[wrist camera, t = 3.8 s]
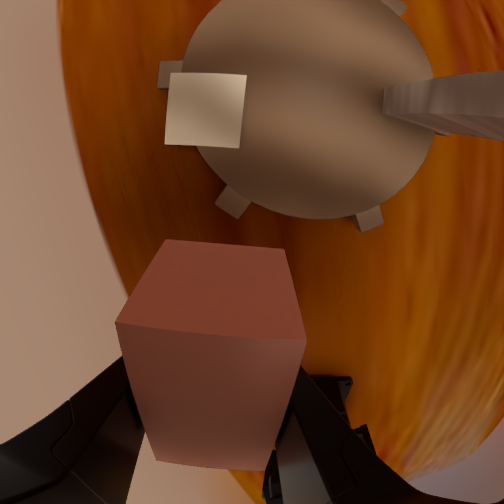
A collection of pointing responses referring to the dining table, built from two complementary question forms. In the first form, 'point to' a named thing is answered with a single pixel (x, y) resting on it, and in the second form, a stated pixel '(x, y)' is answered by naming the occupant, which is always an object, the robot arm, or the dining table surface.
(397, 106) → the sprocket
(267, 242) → the dining table surface
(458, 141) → the dining table surface
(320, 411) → the robot arm
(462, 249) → the dining table surface
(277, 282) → the dusty pink block
